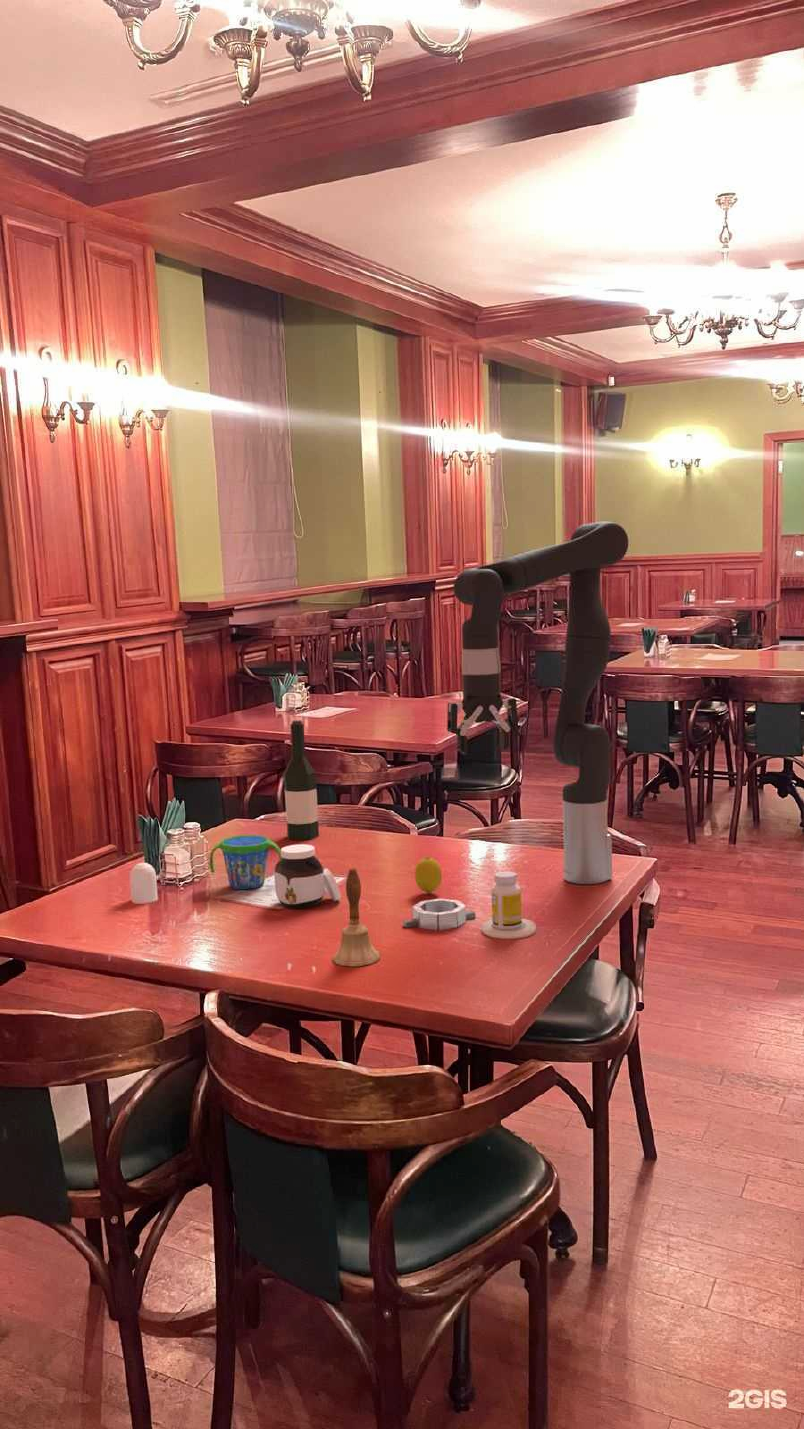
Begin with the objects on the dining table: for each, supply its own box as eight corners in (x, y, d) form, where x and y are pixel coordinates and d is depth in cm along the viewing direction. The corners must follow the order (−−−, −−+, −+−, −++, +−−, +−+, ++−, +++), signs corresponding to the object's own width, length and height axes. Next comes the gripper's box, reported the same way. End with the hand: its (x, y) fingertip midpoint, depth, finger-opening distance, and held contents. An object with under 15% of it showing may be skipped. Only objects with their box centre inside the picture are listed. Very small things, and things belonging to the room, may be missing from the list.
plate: (522, 918, 211) (522, 914, 211) (544, 934, 202) (544, 929, 202) (473, 925, 208) (473, 921, 208) (493, 942, 199) (493, 937, 199)
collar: (465, 910, 218) (464, 895, 218) (483, 923, 209) (482, 908, 209) (397, 919, 214) (396, 904, 214) (412, 934, 205) (411, 918, 205)
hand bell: (332, 952, 197) (327, 864, 195) (378, 949, 198) (374, 862, 196) (333, 968, 189) (328, 877, 187) (381, 965, 190) (377, 874, 188)
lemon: (440, 898, 227) (438, 860, 226) (413, 897, 228) (411, 859, 227) (444, 890, 232) (443, 853, 231) (418, 889, 233) (417, 852, 232)
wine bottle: (283, 840, 281) (276, 723, 278) (291, 832, 290) (285, 718, 286) (315, 840, 280) (308, 722, 276) (322, 832, 288) (316, 718, 284)
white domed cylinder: (151, 904, 231) (148, 866, 230) (127, 903, 232) (124, 866, 231) (161, 896, 236) (159, 859, 235) (138, 896, 238) (135, 859, 236)
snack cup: (287, 878, 246) (284, 833, 245) (278, 892, 236) (275, 845, 235) (217, 879, 248) (214, 835, 246) (206, 893, 237) (203, 847, 236)
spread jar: (270, 904, 228) (267, 848, 226) (311, 891, 236) (308, 837, 234) (309, 914, 219) (306, 857, 218) (350, 900, 228) (348, 845, 226)
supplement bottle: (527, 923, 206) (525, 872, 204) (513, 932, 201) (511, 879, 200) (501, 919, 209) (499, 868, 207) (487, 927, 204) (485, 875, 203)
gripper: (507, 667, 225) (509, 746, 227) (440, 672, 221) (443, 752, 223) (521, 670, 218) (524, 751, 220) (453, 675, 214) (456, 758, 216)
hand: (483, 752), depth 221 cm, fingers open, 8 cm apart
